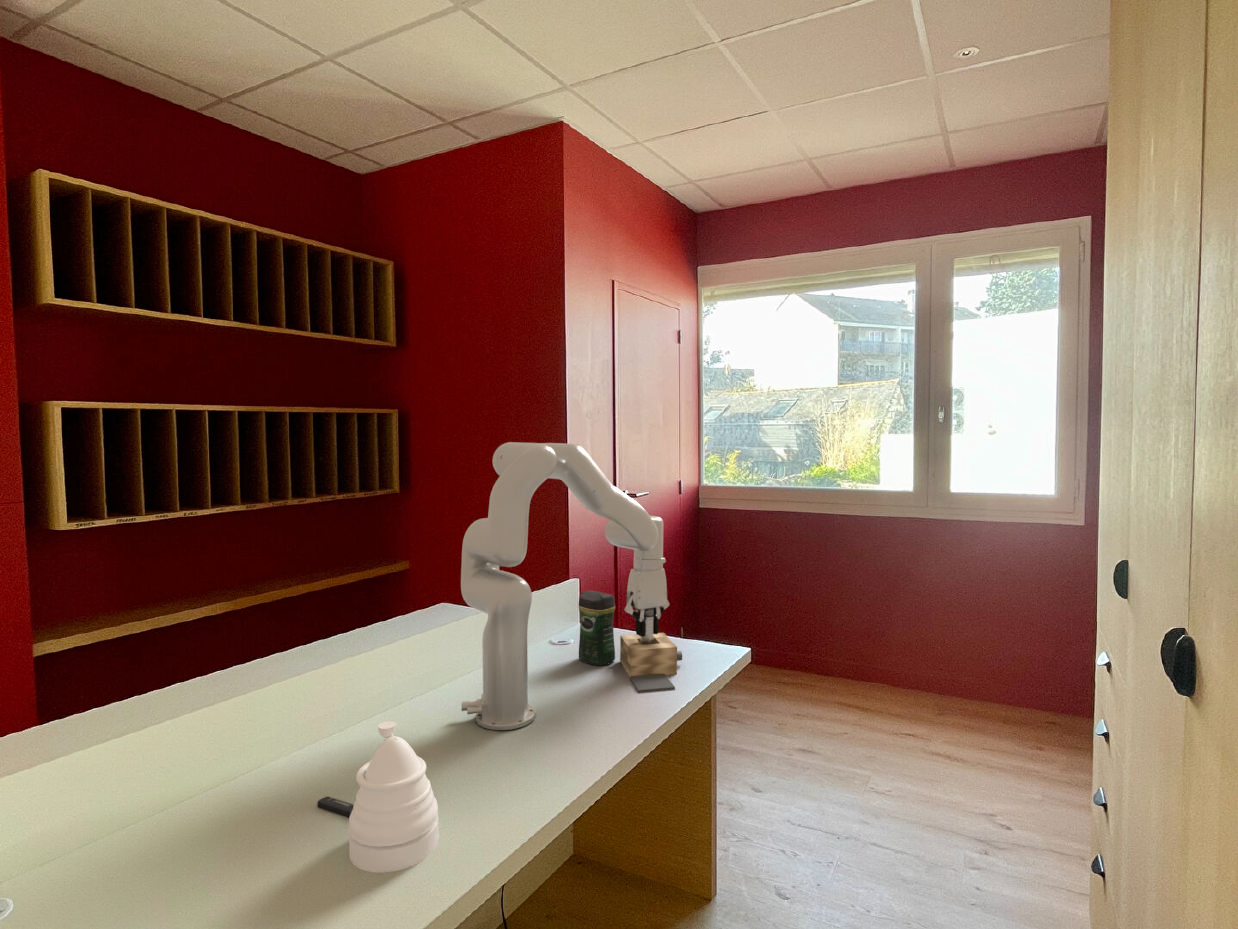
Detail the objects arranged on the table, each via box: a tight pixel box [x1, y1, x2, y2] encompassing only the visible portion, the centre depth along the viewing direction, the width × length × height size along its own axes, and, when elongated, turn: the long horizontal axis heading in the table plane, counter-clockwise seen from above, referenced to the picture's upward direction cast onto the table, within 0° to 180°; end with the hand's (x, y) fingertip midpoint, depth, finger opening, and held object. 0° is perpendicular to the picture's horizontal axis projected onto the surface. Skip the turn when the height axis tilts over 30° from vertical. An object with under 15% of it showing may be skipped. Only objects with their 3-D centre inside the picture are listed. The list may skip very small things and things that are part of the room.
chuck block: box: [619, 632, 683, 677], centre depth 179 cm, size 15×12×7 cm
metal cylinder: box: [640, 608, 654, 645], centre depth 178 cm, size 3×3×12 cm
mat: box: [629, 674, 676, 693], centre depth 167 cm, size 9×9×1 cm
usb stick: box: [316, 796, 354, 819], centre depth 113 cm, size 10×3×2 cm, turn 66°
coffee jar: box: [578, 589, 616, 666], centre depth 183 cm, size 10×8×19 cm
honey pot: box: [348, 720, 440, 874], centre depth 103 cm, size 13×13×18 cm
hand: (646, 633), depth 178 cm, fingers closed on metal cylinder, 3 cm apart
